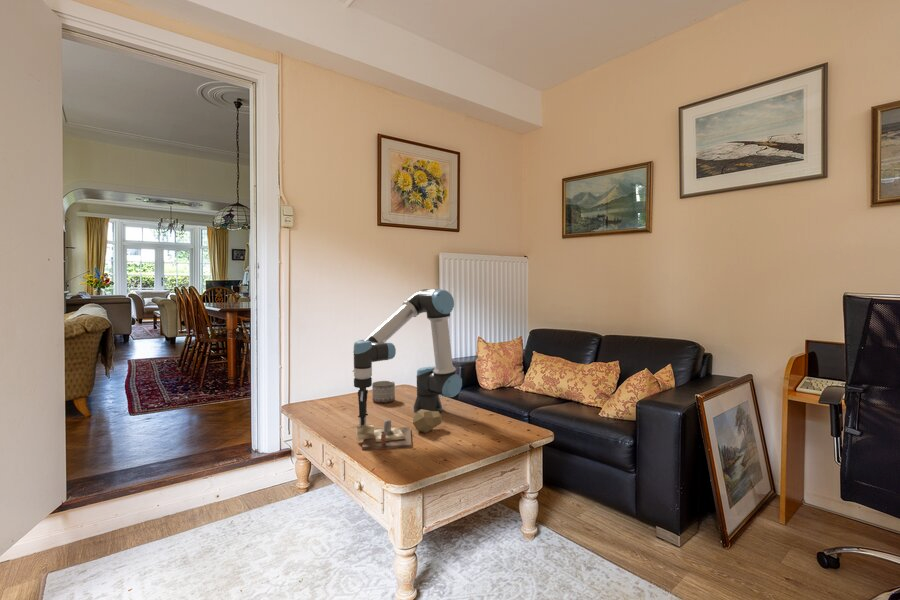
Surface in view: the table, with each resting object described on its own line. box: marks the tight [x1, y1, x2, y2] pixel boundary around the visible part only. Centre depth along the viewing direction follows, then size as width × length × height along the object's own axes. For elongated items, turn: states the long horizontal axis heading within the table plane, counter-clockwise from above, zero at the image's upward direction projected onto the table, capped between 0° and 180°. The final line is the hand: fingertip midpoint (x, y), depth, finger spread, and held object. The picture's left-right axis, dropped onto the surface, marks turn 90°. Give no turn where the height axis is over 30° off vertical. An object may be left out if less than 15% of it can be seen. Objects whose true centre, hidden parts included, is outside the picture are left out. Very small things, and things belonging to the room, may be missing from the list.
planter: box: [371, 380, 396, 404], centre depth 250 cm, size 13×13×10 cm
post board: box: [361, 419, 412, 451], centre depth 189 cm, size 20×22×8 cm
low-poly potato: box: [412, 409, 443, 434], centre depth 200 cm, size 15×11×12 cm
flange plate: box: [356, 424, 404, 442], centre depth 188 cm, size 19×12×5 cm, turn 109°
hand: (363, 431), depth 188 cm, fingers closed
